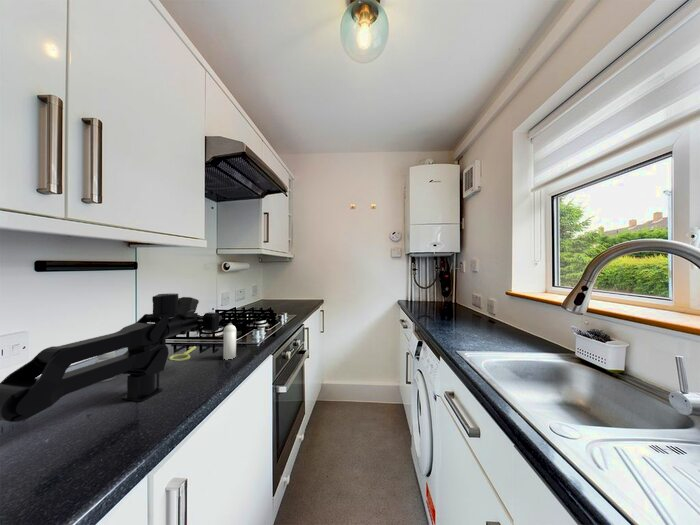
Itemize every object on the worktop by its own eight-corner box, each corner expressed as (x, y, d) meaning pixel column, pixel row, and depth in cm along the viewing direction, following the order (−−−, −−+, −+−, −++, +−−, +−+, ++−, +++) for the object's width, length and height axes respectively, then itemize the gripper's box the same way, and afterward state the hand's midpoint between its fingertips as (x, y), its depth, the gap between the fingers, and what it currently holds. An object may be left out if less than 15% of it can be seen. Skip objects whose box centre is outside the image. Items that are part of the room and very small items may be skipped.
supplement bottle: (92, 383, 77) (93, 355, 77) (97, 378, 81) (97, 351, 81) (114, 380, 79) (114, 352, 80) (117, 374, 83) (118, 348, 84)
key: (196, 350, 109) (196, 345, 109) (188, 361, 97) (188, 355, 97) (176, 352, 106) (176, 347, 106) (166, 363, 95) (166, 357, 95)
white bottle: (231, 360, 96) (231, 324, 97) (220, 359, 97) (221, 324, 97) (238, 356, 101) (238, 322, 101) (228, 355, 102) (228, 321, 102)
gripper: (201, 301, 79) (233, 295, 94) (150, 299, 82) (189, 294, 97) (200, 337, 78) (232, 326, 94) (149, 334, 82) (188, 323, 97)
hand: (210, 316), depth 96 cm, fingers open, 9 cm apart
